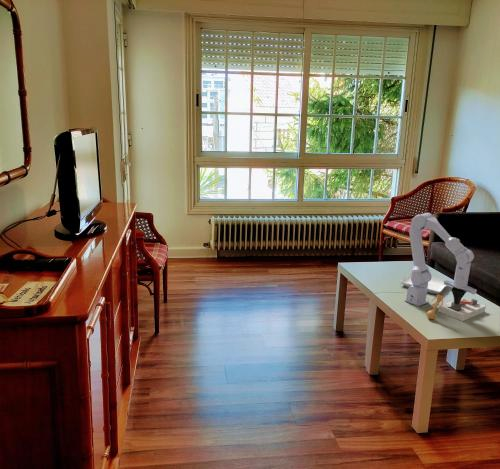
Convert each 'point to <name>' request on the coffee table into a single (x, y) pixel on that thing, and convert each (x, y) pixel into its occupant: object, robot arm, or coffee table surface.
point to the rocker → (466, 302)
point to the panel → (462, 310)
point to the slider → (474, 302)
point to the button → (456, 306)
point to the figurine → (431, 313)
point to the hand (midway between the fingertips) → (456, 303)
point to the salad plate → (433, 285)
